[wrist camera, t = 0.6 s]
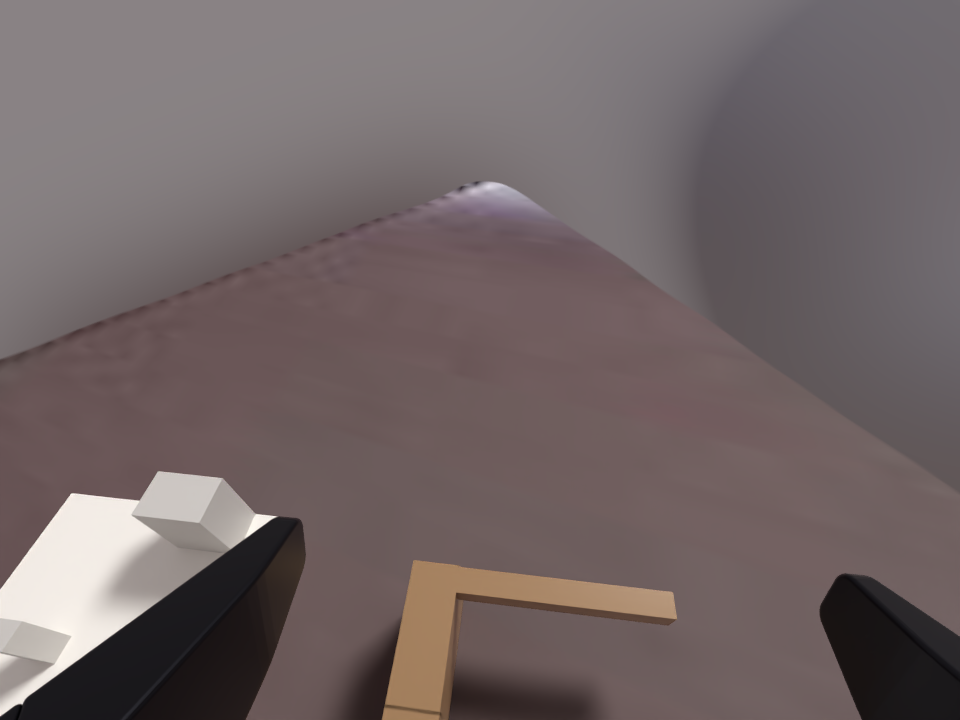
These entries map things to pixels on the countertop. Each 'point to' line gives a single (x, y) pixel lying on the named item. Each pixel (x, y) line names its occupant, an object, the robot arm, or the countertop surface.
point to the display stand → (109, 571)
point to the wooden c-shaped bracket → (442, 588)
